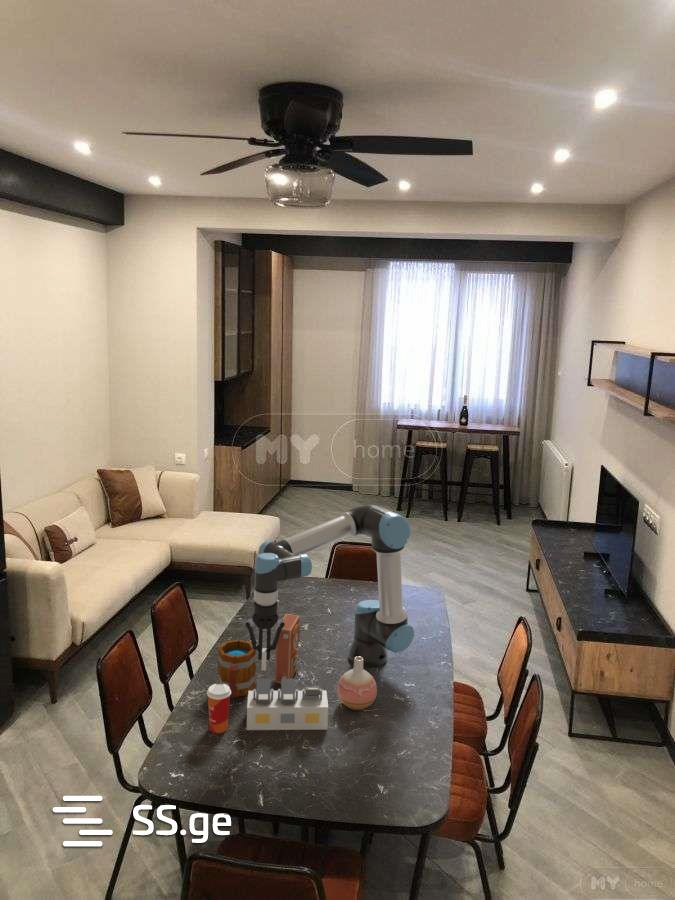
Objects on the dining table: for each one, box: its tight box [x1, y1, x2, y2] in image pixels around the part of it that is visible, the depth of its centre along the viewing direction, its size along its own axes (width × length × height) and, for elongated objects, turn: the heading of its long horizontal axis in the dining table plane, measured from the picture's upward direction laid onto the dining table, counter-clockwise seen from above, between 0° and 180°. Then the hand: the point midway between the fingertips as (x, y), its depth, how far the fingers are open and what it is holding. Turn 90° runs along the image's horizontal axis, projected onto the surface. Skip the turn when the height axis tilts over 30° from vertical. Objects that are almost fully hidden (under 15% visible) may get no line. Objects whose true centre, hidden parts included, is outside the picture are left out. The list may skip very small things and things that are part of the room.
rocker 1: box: [255, 678, 271, 704], centre depth 229 cm, size 5×9×2 cm, turn 5°
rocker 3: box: [304, 686, 321, 695], centre depth 231 cm, size 5×9×2 cm, turn 5°
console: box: [246, 688, 329, 731], centre depth 231 cm, size 26×10×11 cm, turn 95°
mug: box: [217, 638, 257, 698], centre depth 247 cm, size 20×14×15 cm
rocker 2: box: [280, 678, 296, 704], centre depth 230 cm, size 5×9×2 cm, turn 5°
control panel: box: [274, 613, 301, 684], centre depth 259 cm, size 21×7×15 cm
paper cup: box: [206, 683, 231, 734], centre depth 225 cm, size 8×8×14 cm
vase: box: [336, 656, 378, 711], centre depth 242 cm, size 14×14×18 cm
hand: (263, 668), depth 231 cm, fingers closed
